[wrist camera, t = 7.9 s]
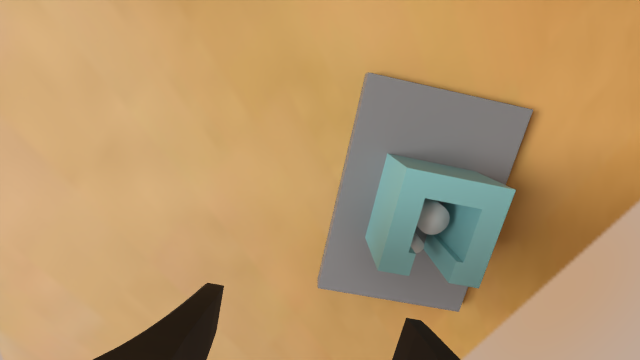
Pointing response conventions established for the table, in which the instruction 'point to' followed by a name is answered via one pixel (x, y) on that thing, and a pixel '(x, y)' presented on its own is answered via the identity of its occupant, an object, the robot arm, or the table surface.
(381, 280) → the post board
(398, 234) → the teal slotted block
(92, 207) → the table surface
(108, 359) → the robot arm
